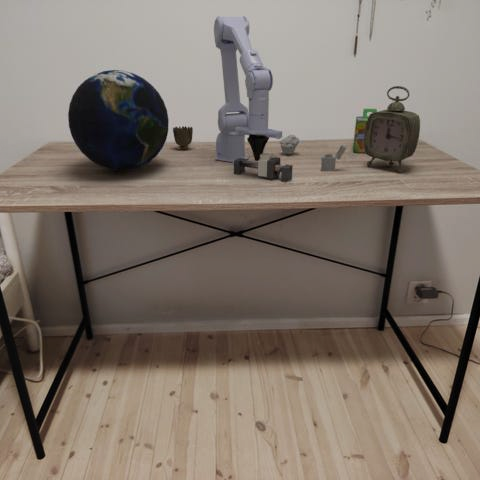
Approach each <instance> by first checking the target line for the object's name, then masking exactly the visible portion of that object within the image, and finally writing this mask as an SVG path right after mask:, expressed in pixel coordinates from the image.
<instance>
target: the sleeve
mask: <svg viewBox="0 0 480 480" xmlns="http://www.w3.org/2000/svg"><path fill="white" fill-rule="evenodd" d="M273 155H274V154H273V153H268V152H263V153H262V154H260V159H259V160H258V161H257V162H258V169H257V176H259V177H264V178H267V161H268V160H270V159H271V158H273V157H274V156H273Z"/></svg>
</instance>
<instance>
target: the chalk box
mask: <svg viewBox="0 0 480 480" xmlns="http://www.w3.org/2000/svg"><path fill="white" fill-rule="evenodd" d="M362 111H363V112H362V116H356V117H355V125H354V135H353V143H352V152H353V153H358V154H359V153H360V154H366V153H365V149H364V137H365V129H366V124H367V120H368V118H369V116H370V115H368V113H369V112H370V113H371V114H372V113H375V112H378V109H377V108H363V110H362Z"/></svg>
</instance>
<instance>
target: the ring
mask: <svg viewBox="0 0 480 480" xmlns="http://www.w3.org/2000/svg"><path fill="white" fill-rule="evenodd" d="M281 160H282V159H281V157H279V156H273V158H271V159H270V160H268V161H267V177H266V179H269V180H270V179H271V180H274V179H276V178H277V177H278V176H281V172H274V171H275V164H278V165H281Z"/></svg>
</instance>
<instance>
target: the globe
mask: <svg viewBox="0 0 480 480" xmlns="http://www.w3.org/2000/svg"><path fill="white" fill-rule="evenodd" d="M67 114H68V116H67V117H68V128H69V132H70V135H71V137H72V139H73V141H74V144H75V145H76V147H77V148H78V149H79V151H80V152H81V153H82V154H83V155H84V156H85V157H86V158H87V159H89V160H90V161H91V162H92V163H94V164H96V165H98V166H99V167H102V168H105V169H108V170H112V171H121V172H122V171H124V172H125V171H132V170H136V169H139V168H141V167H143V166H146V165H147V164H149V163H151V162H152V161H153V160H154V159H155V158H156V157H157V156H158V155H159V153H160V152H161V150H163V147H164V146H165V143H166V141H167V138H168V133H169V114H168V110H167V107H166V103H165V102H164V100H163V98H162V96H161V94H160V93H159V91H157V89H156V88H155V87H154V86H153V85H152V84H151V83H150V82H149V81H147V80H146V79H145V78H143V77H141V76H139V75H138V74H136V73H133V72H130V71H125V70H119V69H113V70H111V69H109V70H103V71H101V72H96V73H94V74H93V75H91V76H90V77H88V78H87V79H85V80H84V81H83V82H82V83H80V85H79V86H78V87H77V88H76V90H75V92H74V93H73V95H72V97H71V100H70V102H69V106H68V112H67Z"/></svg>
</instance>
